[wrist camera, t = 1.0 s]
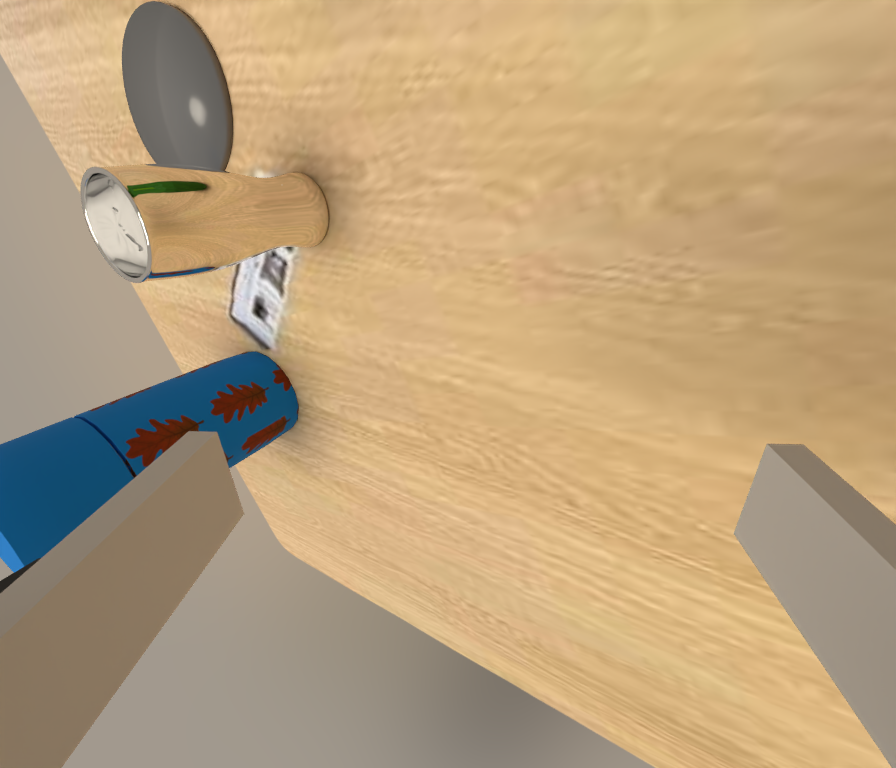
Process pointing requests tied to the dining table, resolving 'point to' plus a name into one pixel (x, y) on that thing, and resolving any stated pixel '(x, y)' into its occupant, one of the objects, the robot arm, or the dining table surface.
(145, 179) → the metal tumbler
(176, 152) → the coaster
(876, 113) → the dining table surface
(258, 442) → the thermos
